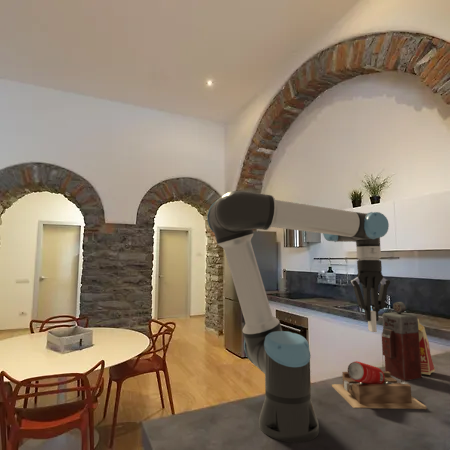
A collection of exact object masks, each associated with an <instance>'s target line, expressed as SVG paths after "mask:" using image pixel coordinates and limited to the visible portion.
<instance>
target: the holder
mask: <svg viewBox="0 0 450 450" xmlns="http://www.w3.org/2000/svg"><path fill="white" fill-rule="evenodd" d="M382 372H383V373H384V377H385V379H384V382H383V384H352V388H349V390H350V391H346V390H345V389H344V381H347V382H348V383H359V382H357V381H354V380H353V379H352V378H351V377H350V376H349V374H348V371H342V383H341V384H340V383H339V384H338V383H336V384H331V386H332V388H333V389H334V390H335V391H336V393H338V394H339V395H340V397H342V398H343V399H344V401H346V402H347V403H348V404H349V405H350V406H351V407H352V408H353V409H396V410H397V409H400V410H401V409H409V410H410V409H412V410H413V409H415V410H417V409H418V410H427V409H428V408H427V405H425V404H424V403H422V402H421V401H419V400H418V399H416V398H415V397H414V396H412V386H411V385H410V384H409V383H408V384H401V382H398V380H396V379H395V377H394V378H393V376H391V373H390V372H388V371H385V370H384V371H383V370H382ZM387 381H389V382H391V383H392V384H385V382H387Z"/></svg>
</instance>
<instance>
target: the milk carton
mask: <svg viewBox="0 0 450 450" xmlns="http://www.w3.org/2000/svg"><path fill="white" fill-rule="evenodd" d="M418 329H419V345H420V361H421V375H429V376H430V375H431V374H432V373H434V372H435V371H436V369H435V366H434V362H433V358H432V355H431V349H430V343H429V342H430V341H429V338H428V335H427V333H426V332H427V331H426V328H425V326H424V325H423V324H422V323H420V319H419V318H418Z"/></svg>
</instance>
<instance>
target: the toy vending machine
mask: <svg viewBox="0 0 450 450" xmlns="http://www.w3.org/2000/svg"><path fill="white" fill-rule="evenodd" d="M406 308H407V307H406V304H405V303H404V302H403V301H396V302H394V303H393V304H392V309H393V311H394V312H393V311H391V312H384V313H383V314H382V332H381V347H382V349H381V350H382V356H384V371H388V372H390V373H391V377H394V378H396V379H399V380H400V381H401V380H404V381H406V382H407V381H411V380H412V381H413V380H416V379H417V380H418V379H422V374H421V361H420V345H419V329H418V319H419V318H418V315H416V314H412V313H407V312H405V311H406Z"/></svg>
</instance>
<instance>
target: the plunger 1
mask: <svg viewBox="0 0 450 450" xmlns="http://www.w3.org/2000/svg"><path fill="white" fill-rule="evenodd" d="M352 384H365V383H361V382H359V383H348V382H347V381H344V389H345V390H346V391H350V390H349V388H352Z"/></svg>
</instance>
